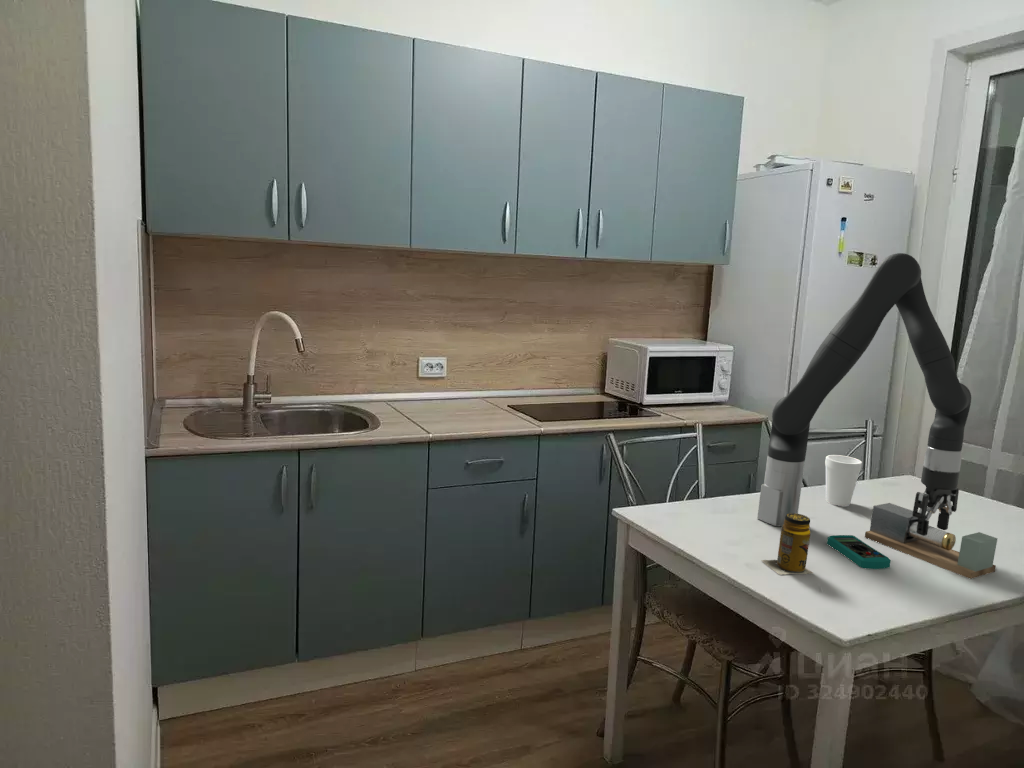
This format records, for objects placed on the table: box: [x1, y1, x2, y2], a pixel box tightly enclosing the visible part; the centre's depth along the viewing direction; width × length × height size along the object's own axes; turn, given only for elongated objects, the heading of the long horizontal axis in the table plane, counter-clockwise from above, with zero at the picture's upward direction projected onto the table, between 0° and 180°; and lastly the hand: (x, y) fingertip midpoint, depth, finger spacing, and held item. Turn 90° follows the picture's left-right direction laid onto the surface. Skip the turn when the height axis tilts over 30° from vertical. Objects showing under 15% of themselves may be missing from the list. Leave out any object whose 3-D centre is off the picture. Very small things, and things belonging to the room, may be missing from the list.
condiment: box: [761, 513, 814, 576], centre depth 162 cm, size 7×8×12 cm
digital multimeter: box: [826, 534, 892, 570], centre depth 172 cm, size 7×15×3 cm, turn 9°
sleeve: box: [869, 502, 918, 544], centre depth 182 cm, size 7×9×7 cm
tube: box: [870, 514, 957, 551], centre depth 179 cm, size 4×19×4 cm, turn 30°
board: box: [864, 530, 996, 580], centre depth 176 cm, size 10×26×2 cm, turn 30°
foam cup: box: [824, 454, 863, 507], centre depth 210 cm, size 10×9×13 cm
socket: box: [957, 531, 998, 572], centre depth 166 cm, size 7×4×7 cm, turn 120°
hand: (931, 531), depth 175 cm, fingers open, 8 cm apart
